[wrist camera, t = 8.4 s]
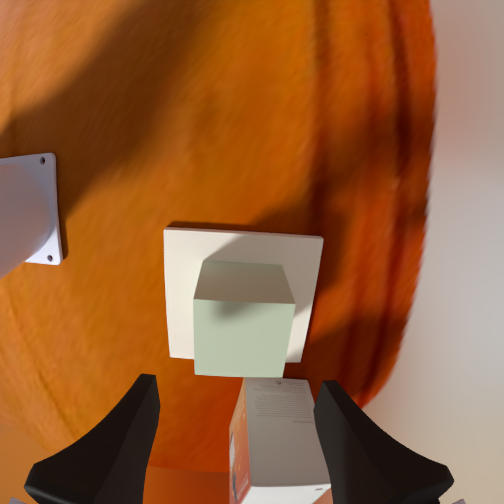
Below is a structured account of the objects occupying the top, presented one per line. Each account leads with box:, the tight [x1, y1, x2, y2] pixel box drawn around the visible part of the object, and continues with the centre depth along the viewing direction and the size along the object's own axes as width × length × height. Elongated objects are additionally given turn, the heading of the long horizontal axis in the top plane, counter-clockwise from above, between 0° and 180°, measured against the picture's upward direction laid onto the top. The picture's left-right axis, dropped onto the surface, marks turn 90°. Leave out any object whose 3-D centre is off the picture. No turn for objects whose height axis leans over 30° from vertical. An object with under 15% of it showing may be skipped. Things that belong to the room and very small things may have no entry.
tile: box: [164, 227, 324, 362], centre depth 21 cm, size 10×10×1 cm
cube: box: [193, 260, 296, 377], centre depth 18 cm, size 5×5×5 cm
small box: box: [229, 377, 331, 504], centre depth 20 cm, size 8×6×10 cm
